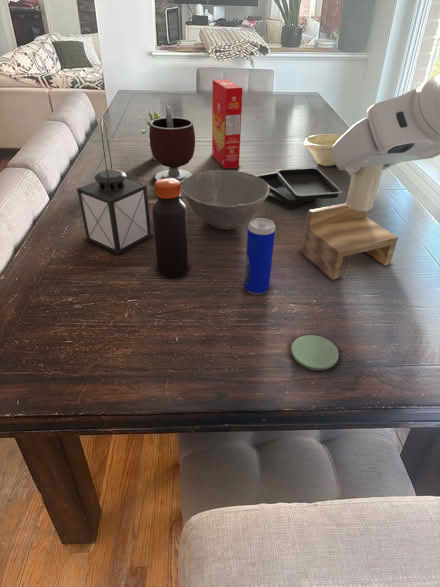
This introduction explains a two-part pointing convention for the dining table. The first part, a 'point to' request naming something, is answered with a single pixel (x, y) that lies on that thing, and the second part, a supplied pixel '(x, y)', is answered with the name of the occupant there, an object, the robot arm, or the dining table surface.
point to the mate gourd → (172, 145)
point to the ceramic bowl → (225, 196)
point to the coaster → (314, 352)
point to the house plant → (149, 124)
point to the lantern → (114, 209)
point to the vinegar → (170, 229)
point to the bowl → (322, 148)
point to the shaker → (364, 188)
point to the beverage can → (259, 255)
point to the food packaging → (226, 122)
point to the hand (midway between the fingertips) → (365, 168)
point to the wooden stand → (344, 238)
